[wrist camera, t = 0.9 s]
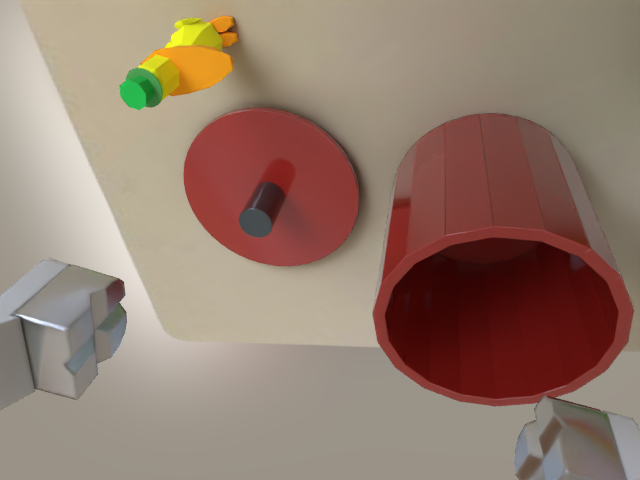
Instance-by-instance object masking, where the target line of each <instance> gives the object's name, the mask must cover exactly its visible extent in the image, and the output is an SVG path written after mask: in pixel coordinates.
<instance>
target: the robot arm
mask: <svg viewBox="0 0 640 480" xmlns="http://www.w3.org/2000/svg"><path fill="white" fill-rule="evenodd" d="M124 296H125V288H124V282H123V281H122V280H120V279H119V278H116V277H113V276H109V275H106V274H102V273H99V272H96V271H93V270H89V269H86V268H83V267H79V266H76V265H70V264H67V263H64V262H61V261H58V260H54V259H51V258H49V259H45V260H42V261H41V262H40V263H38V264H37V265H36V266H35V267H33V268H32V269H31V270H30V271H29V272H28V273H26V274H25V275H24V276H23V277H22V278H20V279H19V280H18V281H17V282H16V283H15V284H13V285H12V286H11V287H10V288H8V289H7V290H6V291H5V292H4V293H2V294H1V295H0V410H2V409H4V408H6V407H8V406H10V405H11V404H13V403H15V402H17V401H18V400H20V399H22V398H24V397H26V396H28V395H29V394H31V393H33V392H35V389H38V390H41V391H45V392H49V393H52V394H56V395H60V396H64V397H67V398H72V399H75V400H78V399H79V398H80V397H81V395H82V394H83V393H84V391H85V390H86V389H87V387H88V386H89V385H90V384H91V383H92V381H93V380H94V379H95V377H96V376H97V375H98V370H97V363H100V362H102V361H104V360H106V359H108V358H111V357H112V355H113V354H114V353H115V351H116V350H117V348H118V347H119V345H120V343H121V341H122V338H123V336H124V333H125V329H126V323H127V317H126V311H125V310H124V308H123V307H122V306H121V304H120V303H119V302H120V301H121V300H122V298H123V297H124ZM534 410H535V417H536V420H534V421H532V422H529V423H527V424H525V426H524V427H523V430H522V431H521V433H520V435H519V437H518V441H517V446H516V450H515V471H516V476H517V477H518V479H519V480H640V429H639V427H638V424H637V423H636V422H635V420H634V419H633V418H630V417H626V416H623V415H619V414H615V413H611V412H607V411H601V410H599V409H595V408H591V407H587V406H584V405H580V404H576V403H572V402H569V401H565V400H561V399H557V398H554V397H550V396H546V395H545V396H544V397H543V398H541V399H540V400H539V402H538V404H537V405H536V407H535V409H534Z"/></svg>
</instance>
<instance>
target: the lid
mask: <svg viewBox="0 0 640 480" xmlns="http://www.w3.org/2000/svg"><path fill="white" fill-rule="evenodd" d="M184 185H185V191H186V195H187V198H188V201H189V203H190V206H191V208H192V210H193V212H194V214H195V215H196V217H197V219H198V220H199V222H200V223H201V224H202V225H203V227H204V228H205V229H206V230H207V231H208V232H209V233H210V234H211V236H212V237H214V238H215V239H216V240H217V241H218V242H219V243H221V244H222V245H224V246H225V247H226V248H228V249H229V250H231V251H233V252H235V253H236V254H238V255H240V256H243V257H245V258H247V259H250V260H253V261H256V262H259V263H263V264H268V265H275V266H296V265H303V264H307V263H311V262H314V261H317V260H319V259H321V258H323V257H325V256H327V255H329V254H330V253H332V252H333V251H335V250H336V249H337V248H338V247H339V246H340V245H341V244H342V243H343V242H344V241H345V240H346V238H347V237H348V236H349V234H350V232H351V231H352V229H353V227H354V224H355V222H356V219H357V215H358V210H359V201H360V193H359V185H358V181H357V177H356V174H355V171H354V169H353V166H352V164H351V162H350V160H349V159H348V157H347V155H346V154H345V152H344V151H343V150H342V148H341V147H340V146H339V144H338V143H337V142H336V141H335V140H334V139H333V138H332V137H331V136H330V135H329V134H328V133H326V132H325V131H324V130H323V129H321V128H320V127H319V126H317V125H316V124H314V123H312V122H311V121H309V120H307V119H305V118H303V117H301V116H299V115H296V114H293V113H290V112H287V111H284V110H279V109H274V108H265V107H252V108H244V109H239V110H234V111H232V112H229V113H226V114H224V115H222V116H220V117H218V118H216V119H214V120H213V121H212V122H210V123H209V124H208V125H207V126H206V127H205V128H204V129H203V130H202V131H201V132H200V133H199V134H198V135H197V137H196V138H195V139H194V141H193V142H192V144H191V146H190V148H189V150H188V153H187V156H186V160H185V165H184Z"/></svg>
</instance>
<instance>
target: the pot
mask: <svg viewBox="0 0 640 480" xmlns="http://www.w3.org/2000/svg"><path fill="white" fill-rule="evenodd" d="M633 312H634V309H633V305H632V303H631V300H630V297H629V295H628V292H627V289H626V286H625V284H624V281H623V278H622V276H621V273H620V271H619V269H618V266H617V264H616V261H615V259H614V257H613V254H612V252H611V250H610V247H609V245H608V242H607V240H606V238H605V235H604V233H603V230H602V228H601V226H600V223H599V221H598V218H597V216H596V214H595V211H594V209H593V206H592V204H591V202H590V199H589V197H588V195H587V192H586V190H585V187H584V185H583V183H582V180H581V178H580V175H579V173H578V171H577V168H576V166H575V163H574V161H573V159H572V156H571V154H570V152H569V151H568V150H567V149H566V148H565V147H564V145H563V144H562V143H561V142H560V141H559V140H558V139H557V138H556V137H555V136H554V135H553V134H552V133H551V132H549V131H548V130H546V129H545V128H543V127H542V126H540V125H538V124H536V123H534V122H532V121H529V120H526V119H523V118H520V117H517V116H512V115H507V114H495V113H489V114H476V115H470V116H465V117H461V118H458V119H454V120H452V121H449V122H447V123H445V124H442V125H440V126H439V127H437V128H435V129H433V130H431V131H430V132H429V133H427V134H426V135H425V136H423V137H422V138H421V139H420V140H419V141H418V142H416V143H415V144H414V145H413V146H412V148H411V149H410V150H409V151H408V153H407V154H406V155H405V157H404V158H403V160H402V162H401V164H400V165H399V167H398V170H397V173H396V176H395V180H394V184H393V188H392V191H391V196H390V203H389V209H388V216H387V222H386V229H385V235H384V242H383V248H382V255H381V261H380V267H379V274H378V280H377V287H376V293H375V300H374V306H373V319H374V324H375V330H376V335H377V341H378V343H379V345H380V346H381V348H382V349H383V351H384V352H385V353H386V355H387V356H388V358H389V359H390V361H391V362H392V364H393V365H394V366H395V368H397V369H398V370H399V371H401V372H402V373H404V374H405V375H406V376H408V377H409V378H410V379H412V380H413V381H414V382H416V383H417V384H419V385H420V386H421V387H424V388H425V389H428V390H430V391H433V392H436V393H438V394H441V395H443V396H446V397H449V398H451V399H454V400H458V401H460V402H468V403H475V404H483V405H490V406H507V405H520V404H533V403H538V402H539V400H540V399H541V398H543V397H544V396H545V395H546V396H550V397H554V398H555V397H558V396H561V395H564V394H568V393H571V392H574V391H576V390H577V389H579V388H580V387H582V386H583V385H585V384H586V383H588V382H590V381H591V380H593V379H594V378H596V377H597V376H599V375H601V374H602V373H604V372H605V371H606V370H607V369H608V368H609V367H610V365H611V364H612V363H613V361H614V360H615V359H616V357H617V356H618V355H619V353H620V352H621V351H622V350H623V348H624V347H625V346H626V344H627V343H628V340H629V334H630V329H631V323H632V318H633Z"/></svg>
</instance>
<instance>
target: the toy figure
mask: <svg viewBox="0 0 640 480" xmlns="http://www.w3.org/2000/svg"><path fill="white" fill-rule="evenodd" d="M200 20H201V18H187V19H181V20H179V21H178V22H177V23H175V28H180V29H179V30H178V31H177V32H175V33H174V34H173V35H171V41H170V42H169V43H168V44H167V45H166V46H165V47H164V48H163V49H158V50H155V51H154V52H153V53H152V54H151V55H149V56H148V57H147V58H146V59H145V60H144V61H143V62H142V63H141V66H139V67H138V68H135V69H132V70H131V71H129V73H128V74H127V77H126V81H125V82H124V83H123V84H121V85H120V94H121V98H122V99H123V100H124V101H125V103H126V104H127V105H128V106H129V107H131V108H134V109H138V110H140V109H141V108H143V107H144V106H145V107H155V106H156V105H158V104H159V103H160V102H161V101H162V100H163V99H165V98H166V97H167V96H168V95H171V96H176V95H182V94H189V93H192V92H195V91H199V90H202V89H205V88H209V87H211V86H212V85H214V84H216V83H218V82H219V81H221V80H222V79H223V78H224V77H225V76H226V75H228V74H229V73H230V72H231V71H232V70H233V62H234V60H233V58H232V57H231V56H230V55H229V54H226V53H223V52H222V47H229V46H230V45H232V44H234V43H236V42H237V41H238V36H237V33H234V32H230V31H226V30H228V29H229V28H231V27H232V26H233V25H234V24H235V23H234V20H233V17H228V16H221V17H218V18H216V19H214V20H212V21H210V22H208V23H207V22H203V21H200ZM225 31H226V32H225ZM218 32H222V33H219V34H218Z"/></svg>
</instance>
